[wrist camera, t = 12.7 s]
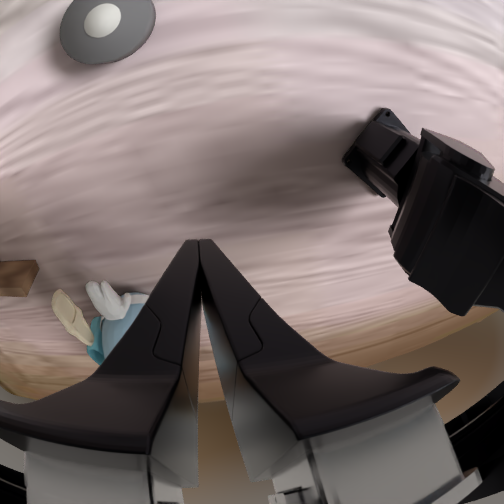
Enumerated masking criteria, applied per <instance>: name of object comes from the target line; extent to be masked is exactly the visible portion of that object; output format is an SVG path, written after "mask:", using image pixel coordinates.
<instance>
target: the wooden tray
mask: <svg viewBox="0 0 504 504" xmlns="http://www.w3.org/2000/svg"><path fill="white" fill-rule="evenodd" d="M38 270H39V267H38V265H37V263H36V260H25V261H4V262H0V296H12V297H27V294H28V292H29V290H30V288H31V285H32V283H33V281H34V279H35V277H36V275H37V272H38Z"/></svg>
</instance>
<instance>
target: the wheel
mask: <svg viewBox="0 0 504 504" xmlns="http://www.w3.org/2000/svg"><path fill="white" fill-rule="evenodd" d="M155 19H156V12H155V7H154V4H153V3H152V1H151V0H74V1H73V2H72V3H71V4H70V6H69V7H68V9H67V10H66V12H65V14H64V17H63V19H62V22H61V27H60V40H61V44H62V46H63V48H64V50H65V52H66V53H67V54H68V55H69V56H70V57H71V58H73V59H74V60H76V61H78V62H81V63H85V64H100V63H110V62H115V61H119V60H122V59H124V58H126V57H128V56H130V55H132V54H133V53H134V52H136V51H137V50H138V49H139V48H141V47H142V45H143V44H144V43H145V42H146V41H147V39H148V38H149V36H150V35H151V33H152V30H153V28H154V25H155Z"/></svg>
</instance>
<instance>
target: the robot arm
mask: <svg viewBox="0 0 504 504" xmlns="http://www.w3.org/2000/svg"><path fill="white" fill-rule="evenodd" d="M386 112H388V114H387V115H385V114H386ZM420 135H421V140H420V139H418V138H417V137H415V136H413V135H411V134H410V132H409V131H408V130H407V129H406V127H405V126H404V125H403V124H402V123H401V121H400V120H399V119H398V118H397V117H396V115H395V114H394V113H393V112H392V111H391V110H390V109H388V108H383V109H382V110H381V111H380V112H379V114H378V115H377V116H376V117H375V119H374V120H373V121H371V122H370V124H369V125H368V126H367V127H366V129H365V130H364V131H363V132H362V134H361V135H360V136H359V137H358V138H357V140H356V141H355V143H354V144H353V146H352V147H351V148H350V149H349V151H348V152H347V153H346V154H345V155H344V157H343V158H342V162H343V164H344V165H345V166H347V167H348V168H349V169H350V170H351V171H353V172H354V173H355V174H356V175H357V176H358V177H360V178H361V179H362V180H363V181H364V182H365V183H366V184H367V185H369V186H370V187H371V188H372V189H373V190H374V191H375V192H376V193H377V194H379V195H380V196H381V197H382V198H384V197H386V196H387V197H388V198H389V199H390V200H391V201H392V202H393V203H394V204H395V205H396V206H397V207H398V211H397V213H396V216H395V219H394V221H393V224H392V225H390V228H389V230H388V232H389V235H390V237H391V243H392V246H393V249H394V251H395V252H394V258H395V260H396V261H397V262H398V263H399V265H400V266H401V267H402V268H403V270H404V271H405V273H407V274H408V275H409V277H408V279H409V281H411V282H413V283H415V284H417V285H419V286H421V287H423V288H424V289H425V290H427V291H428V292H430V293H431V294H432V295H433V296H434V297H436V298H437V299H438V300H439V301H440V302H441V304H442V305H443V306H444V307H445V308H446V309H447V310H448V311H449V312H451V313H453V314H456V315H459V316H465V315H466V314H467V313H468V311H469V310H470V309H471V307H472V306H480V307H490V308H498V309H500V310H501V311H502V312H504V183H502V182H501V181H500V180H498V179H497V178H495V177H494V176H493V173H494V170H495V168H494V167H493V166H492V165H491V163H490V162H489V161H488V160H487V159H486V158H485V157H484V155H483V154H482V153H480V152H479V151H477V150H475V149H473V148H472V147H470V146H468V145H466V144H464V143H463V142H461V141H458V140H456V139H453V138H451V137H448V136H445V135H442V134H439V133H437V132H434V131H431V130H428V129H425V128H422V131H421V134H420ZM348 159H350V161H349V162H347V160H348ZM201 296H202V299H201ZM202 305H203V310H204V315H205V319H206V324H207V328H208V332H209V337H210V341H211V345H212V349H213V353H214V357H215V361H216V365H217V369H218V373H219V377H220V381H221V385H222V389H223V392H224V396H225V400H226V403H227V407H228V410H229V414H230V417H231V421H232V424H233V428H234V431H235V434H236V438H237V441H238V444H239V448H240V451H241V454H242V457H243V460H244V463H245V466H246V469H247V472H248V475H249V478H250V481H251V482H255V481H262V480H268V479H272V480H273V484H274V488H275V492H276V494H275V495H270V496H268V499H269V504H464V503H468V502H471V501H475V500H478V499H481V498H484V497H487V496H490V495H493V494H496V493H498V492H501V491H504V381H503V382H502V383H500V384H499V385H498V386H497V387H496V388H495V389H493V390H492V391H491V392H490V393H488V394H487V395H486V396H485V397H484V398H482V399H481V400H480V401H478V402H477V403H476V404H474V405H473V406H472V407H470V408H469V409H468V410H466V411H465V412H463V413H462V414H460V415H459V416H457V417H456V418H454V419H453V420H451V421H450V422H448V423H446V424H444V423H443V421H442V418H441V416H440V414H439V412H438V409H437V407H436V405H435V403H436V402H438V401H439V400H440V399H441V398H443V397H444V396H445V395H446V394H448V393H449V392H450V391H451V390H452V389H454V388H455V387H456V386H457V385H458V383H459V381H460V379H459V378H458V377H457V376H456V375H455V374H454V373H452V372H450V371H448V370H445V369H442V368H438V367H434V366H433V367H428V368H425V369H423V370H421V371H418V372H415V373H408V374H397V373H389V372H383V371H378V370H373V369H369V368H364V367H359V366H354V365H349V364H345V363H341V362H337V361H334V360H332V359H330V358H328V357H327V356H325V355H324V354H322V353H321V352H320V351H318V350H317V349H316V348H315V347H314V346H312V345H311V344H310V343H309V342H308V341H307V340H305V339H304V338H303V337H302V336H301V335H300V334H298V333H297V332H296V331H295V330H294V329H293V328H291V327H290V326H289V325H288V324H287V323H286V322H285V321H284V320H283V319H282V318H280V317H279V316H278V315H277V314H276V312H275V311H274V310H273V309H272V308H271V307H270V306H269V305H268V304H267V303H266V302H265V300H264V299H263V298H261V296H260V295H259V294H258V293H257V291H256V290H255V289H254V288H253V287H252V286H251V285H250V283H249V282H248V281H247V280H246V279H245V278H244V277H243V275H242V274H241V273H240V272H239V271H238V270H237V268H236V267H235V266H234V265H233V264H232V263H231V262H230V260H229V259H228V258H227V257H226V256H225V255H224V253H223V252H222V251H221V250H220V249H219V248H218V246H217V245H216V244H215V243H214V242H213V240H212V239H200V240H199V242H198V240H197V239H192V240H186V241H185V242H184V243H183V245H182V246H181V248H180V249H179V251H178V252H177V254H176V255H175V257H174V258H173V260H172V261H171V263H170V264H169V266H168V268H167V269H166V271H165V272H164V274H163V275H162V277H161V278H160V280H159V282H158V283H157V285H156V286H155V288H154V289H153V291H152V293H151V294H150V296H149V297H148V299H147V301H146V302H145V305H143V307H142V309H141V310H140V312H139V314H138V315H137V317H136V318H135V320H134V321H133V323H132V324H131V326H130V327H129V328H128V330H127V331H126V332H125V334H124V335H123V336H122V338H121V339H120V340H119V342H118V343H117V344H116V346H115V347H114V348H113V349H112V351H111V352H110V353H109V355H108V356H107V357H106V359H105V360H104V361H103V362H102V364H101V365H100V366H99V368H98V369H97V370H96V371H95V372H94V373H93V374H92V375H91V376H90V377H88V378H87V379H85V380H84V381H82V382H79V383H77V384H75V385H72V386H70V387H68V388H66V389H63V390H61V391H59V392H56V393H54V394H52V395H49V396H47V397H44V398H42V399H40V400H37V401H34V402H31V403H25V404H13V403H10V402H6V401H2V400H0V438H1V439H3V440H4V441H6V442H8V443H10V444H11V445H13V446H15V447H17V448H19V449H21V450H23V451H25V455H24V473H21V472H18V471H16V470H13V469H10V468H8V467H5V466H3V465H1V464H0V504H184V502H183V495H182V488H190V487H198V425H197V424H198V377H199V349H200V328H201V310H202Z"/></svg>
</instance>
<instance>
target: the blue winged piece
mask: <svg viewBox="0 0 504 504" xmlns="http://www.w3.org/2000/svg"><path fill="white" fill-rule="evenodd" d="M86 291H87V293H88V295H89V297H90V299H91V301H92V303H93V305H94V307H95V308H96V309H97V310H98V312H99V313H100V314H102V316H99V317H94V319H93V320H92V322H91V326H90V327H89V326H88V324H87V322H86V321H85V319H84V318H83V314H82V311H81V309H80V308H79V307H78V306H76V305H75V304H74V303H73V301H72V300H71V299H70V298H69V297H68V295H67V294H66V293H64V292H63V291H62V290H61V289H58V290H57V291H56V292H55V293H54V295H53V298H52V305H51V306H52V309H53V311H54V313H55V315H56V317H57V318H58V319H59V320H60V322H61V323H62V324H63V325H64V327H65V328H66V331H67V332H68V333H69V334H71V335H73V336H75V337H76V338H77V339H79V340H80V341H81V342H83V343H84V344H86V345H87V353H88V354H89V356H90V357H91V358H92V359H93V360H94V361H95V362H96V363H98V364H99V365H101V364H102V362H103V361H104V360H105V359H106V357H107V356H108V355H109V353H110V352H111V351H112V349H113V348H114V347H115V346H116V344H117V343H118V342H119V340H120V339H121V338H122V336H123V335H124V334H125V332H126V331H127V330H128V328H129V327H130V326H131V324H132V323H133V321H134V320H135V318H136V317H137V315H138V314H139V312H140V310H141V309H142V307H143V305H145V302H146V301H147V299H148V297H149V295H146V294H143V293H138V292H134V293H125V294H124V295H122V296H119V295H118V294H117V293H116V292H115V291H114V290H113V289H112V287H111V286H110V285H109V283H108V282H106V281H105V280H104V281H102V283H101V286H100V285H99V284H98V283H97V282H95V281H89V282H88V283H87V284H86Z"/></svg>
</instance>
